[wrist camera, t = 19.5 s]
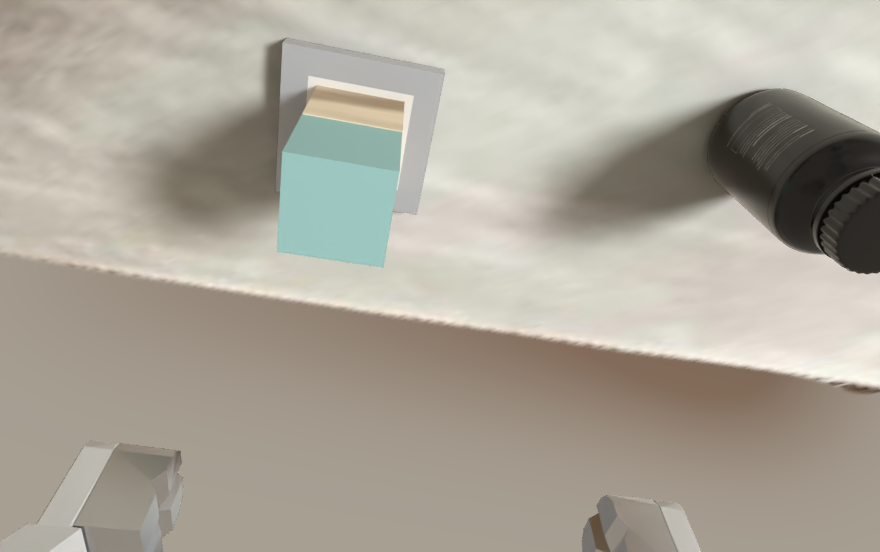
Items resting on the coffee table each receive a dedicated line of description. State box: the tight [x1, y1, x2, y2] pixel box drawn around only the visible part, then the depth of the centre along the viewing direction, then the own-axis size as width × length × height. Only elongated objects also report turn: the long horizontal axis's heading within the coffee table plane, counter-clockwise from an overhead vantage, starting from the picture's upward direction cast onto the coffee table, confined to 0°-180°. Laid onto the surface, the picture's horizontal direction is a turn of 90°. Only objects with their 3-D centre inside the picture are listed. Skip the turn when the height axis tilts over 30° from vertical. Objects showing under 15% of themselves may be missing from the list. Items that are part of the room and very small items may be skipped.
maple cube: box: [302, 85, 405, 133], centre depth 32 cm, size 5×5×5 cm
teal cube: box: [277, 114, 402, 268], centre depth 28 cm, size 5×5×5 cm
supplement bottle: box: [707, 89, 880, 274], centre depth 32 cm, size 7×7×12 cm
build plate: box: [275, 38, 445, 215], centre depth 35 cm, size 9×9×1 cm
